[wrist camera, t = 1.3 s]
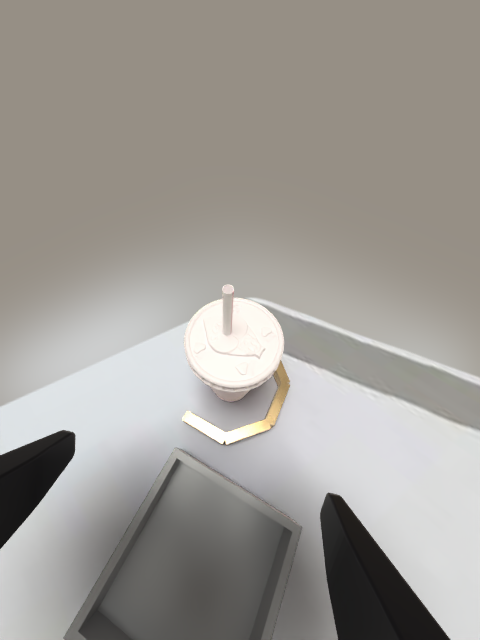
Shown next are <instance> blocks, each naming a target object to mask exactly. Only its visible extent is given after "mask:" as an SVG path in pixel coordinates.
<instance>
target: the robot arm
mask: <svg viewBox="0 0 480 640" xmlns="http://www.w3.org/2000/svg"><path fill="white" fill-rule="evenodd" d="M74 453H75V434H74V433H73V432H70V431H66V430H62V431H59V432H56V433H54V434H51V435H49V436H47V437H44V438H42V439H39V440H37V441H34V442H32V443H29V444H27V445H25V446H22V447H20V448H17V449H15V450H12V451H10V452H7V453H5V454H3V455H0V549H1V548H2V547H3V545H4V544H5V543H6V542H7V541H8V540H9V538H10V537H11V536H12V535H13V534H14V533H15V531H16V530H17V529H18V528H19V527H20V526H21V524H22V523H23V522H24V521H25V520H26V518H27V517H28V516H29V515H30V514H31V513H32V511H33V510H34V509H35V508H36V507H37V505H38V504H39V503H40V501H41V500H42V499H43V498H44V496H45V495H46V493H47V492H48V491H49V489H50V488H51V487H52V485H53V484H54V483H55V481H56V480H57V478H58V477H59V476H60V474H61V473H62V472H63V470H64V469H65V468H66V466H67V465H68V463H69V462H70V461H71V459H72V458H73V456H74ZM320 521H321V530H322V539H323V548H324V557H325V567H326V575H327V582H328V588H329V594H330V599H331V604H332V609H333V615H334V620H335V625H336V630H337V635H338V640H450V638H449V637H448V636H447V635H446V633H445V632H444V631H443V629H442V628H441V627H440V625H439V624H438V623H437V621H436V620H435V619H434V618H433V616H432V615H431V614H430V612H429V611H428V610H427V608H426V607H425V606H424V604H423V603H422V602H421V600H420V599H419V598H418V597H417V595H416V594H415V593H414V591H413V590H412V589H411V587H410V586H409V585H408V583H407V582H406V581H405V579H404V578H403V577H402V576H401V574H400V573H399V572H398V570H397V569H396V568H395V566H394V565H393V564H392V562H391V561H390V560H389V558H388V557H387V556H386V555H385V553H384V552H383V551H382V549H381V548H380V547H379V545H378V544H377V543H376V541H375V540H374V539H373V538H372V536H371V535H370V534H369V532H368V531H367V530H366V528H365V527H364V526H363V524H362V523H361V522H360V520H359V519H358V518H357V517H356V515H355V514H354V513H353V511H352V510H351V509H350V507H349V506H348V505H347V503H346V502H345V501H344V499H343V498H342V497H341V496H340V495H337V494H333V493H327V495H326V497H325V500H324V503H323V506H322V509H321V513H320Z"/></svg>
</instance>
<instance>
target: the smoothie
mask: <svg viewBox="0 0 480 640" xmlns="http://www.w3.org/2000/svg"><path fill="white" fill-rule="evenodd" d="M222 298H223V299H219V300H216V301H213V302H211V303H209V304H207V305H205V306H204V307H202V308H201V309H200V310H199V311H197V313H196V314H195V315H194V316H193V317H192V319H191V320H190V322H189V324H188V326H187V328H186V332H185V337H184V347H185V354H186V357H187V361H188V364H189V366H190V367H191V369H192V371H193V372H194V374H195V375H196V376H197V377H198V378H199V379H200V380H202V381H203V382H204V383H205V384H206V385H209V386H210V387H211V388H212V390H213V391H214V392H215V394H216V395H217V396H218V397H219V398H220V399H222V400H224V401H228V402H234V401H238V400H240V399H242V398H243V397H244V396H245V395H246V394H247V393H248V392H249V391H250V390H251V389H253V388H256V387H259V386H260V385H262V384H263V383H264V382H266V381H267V380H268V379H270V378H271V376H272V375H273V374H274V372H275V371H276V370H277V368H278V366H279V363H280V360H281V358H282V354H283V349H284V337H283V332H282V329H281V327H280V325H279V323H278V321H277V320H276V318H275V317H274V316H273V315H272V313H271V312H269V311H268V310H267V309H266V308H264V307H263V306H261V305H260V304H258V303H256V302H253V301H251V300H247V299H242V298H234V288H233V286H231V285H225V286H224V287H223V288H222Z"/></svg>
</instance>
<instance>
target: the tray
mask: <svg viewBox="0 0 480 640" xmlns="http://www.w3.org/2000/svg"><path fill="white" fill-rule="evenodd" d="M301 530H302V527H301V526H300V525H299V524H297V523H296V522H295V521H294V520H292V519H291V518H290V517H288V516H286V515H285V514H283V513H282V512H280V511H278V510H277V509H275V508H274V507H272V506H270V505H269V504H267V503H266V502H264V501H262V500H261V499H259V498H258V497H256V496H254V495H253V494H251V493H250V492H248V491H247V490H245V489H243V488H242V487H240V486H239V485H237V484H235V483H234V482H232V481H231V480H229V479H227V478H226V477H224V476H223V475H221V474H219V473H218V472H216V471H215V470H213V469H211V468H210V467H208V466H207V465H205V464H204V463H202V462H200V461H199V460H197V459H196V458H194V457H192V456H191V455H189V454H188V453H186V452H184V451H183V450H181V449H178V448H175V449H174V450H173V452H172V454H171V455H170V457H169V459H168V461H167V462H166V464H165V466H164V467H163V469H162V471H161V473H160V474H159V476H158V478H157V479H156V481H155V483H154V484H153V486H152V488H151V490H150V491H149V493H148V495H147V496H146V498H145V500H144V502H143V503H142V505H141V507H140V508H139V510H138V512H137V513H136V515H135V517H134V519H133V520H132V522H131V524H130V525H129V527H128V529H127V531H126V532H125V534H124V536H123V537H122V539H121V541H120V542H119V544H118V546H117V548H116V549H115V551H114V553H113V554H112V556H111V558H110V560H109V561H108V563H107V565H106V566H105V568H104V570H103V571H102V573H101V575H100V577H99V578H98V580H97V582H96V583H95V585H94V587H93V589H92V590H91V592H90V594H89V595H88V597H87V599H86V600H85V602H84V604H83V606H82V607H81V609H80V611H79V612H78V614H77V616H76V618H75V619H74V621H73V623H72V624H71V626H70V628H69V629H68V631H67V633H66V635H65V636H64V639H65V640H271V638H272V635H273V631H274V628H275V624H276V620H277V617H278V613H279V610H280V606H281V602H282V599H283V595H284V591H285V588H286V584H287V581H288V577H289V573H290V570H291V566H292V563H293V559H294V555H295V552H296V548H297V545H298V541H299V537H300V534H301Z"/></svg>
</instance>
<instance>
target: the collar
mask: <svg viewBox="0 0 480 640" xmlns="http://www.w3.org/2000/svg"><path fill="white" fill-rule="evenodd" d="M273 375H274V378H275V380H276V383H277V385H278V389H277V391H276V394H275V396H274V398H273V401H272V403H271V405H270V408H269V410H268V412H267V415H266V417H265V419H264V420H262V421H259V422H256V423H253V424H250V425H247V426H244V427H241V428H239V429H236V430H233V431H230V432H227V433H225V432H223V431H221V430H220V429H218V428H216V427H215V426H213V425H211V424H210V423H208V422H206V421H204V420H203V419H201V418H199V417H198V416H196V415H194V414H192V413H191V412H189V411H187V412H186V414H185V415H184V417H183V419H182V420H183V421H184V422H185V423H187V424H188V425H190V426H192V427H193V428H195V429H197V430H198V431H200V432H202V433H204V434H205V435H207V436H209V437H210V438H212V439H214V440H215V441H217V442H219V443H220V444H222V445H223V444H224V442H226V445H229V444H231V443H234V442H237V441H240V440H243V439H246V438H248V437H251V436H254V435H257V434H260V433H262V432H265V431H268V430H270V429H271V428H272V427H273V426H274V424H275V422H276V419H277V417H278V414H279V412H280V409H281V407H282V404H283V402H284V399H285V397H286V394H287V392H288V389H289V387H290V385H289V382H290V381H289V378H288V376H287V374H286V371H285V369H284V367H283V364H282V362H281V360H280V363H279V366H278V368H277V370H276V371H275V372H274V374H273Z"/></svg>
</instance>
